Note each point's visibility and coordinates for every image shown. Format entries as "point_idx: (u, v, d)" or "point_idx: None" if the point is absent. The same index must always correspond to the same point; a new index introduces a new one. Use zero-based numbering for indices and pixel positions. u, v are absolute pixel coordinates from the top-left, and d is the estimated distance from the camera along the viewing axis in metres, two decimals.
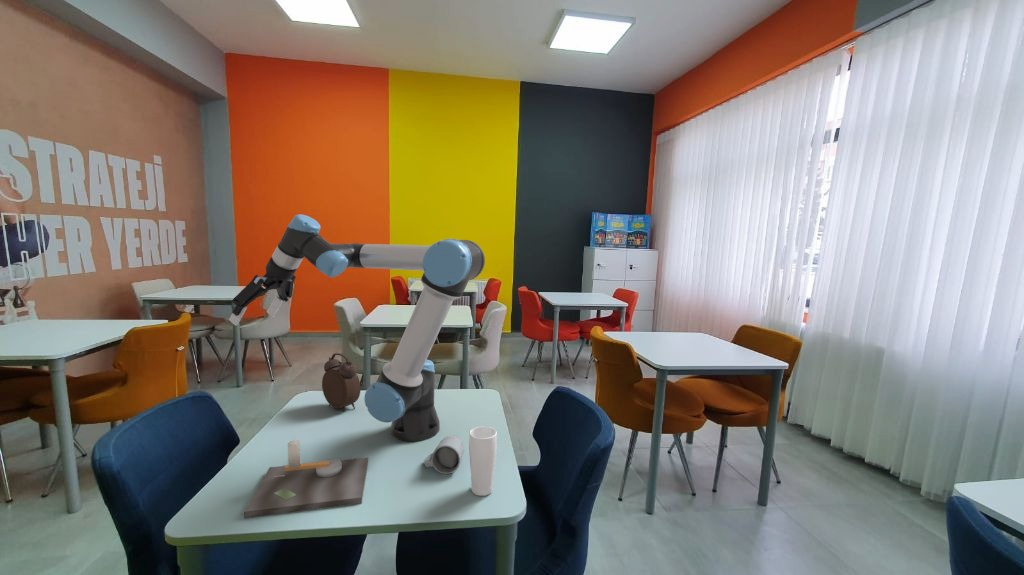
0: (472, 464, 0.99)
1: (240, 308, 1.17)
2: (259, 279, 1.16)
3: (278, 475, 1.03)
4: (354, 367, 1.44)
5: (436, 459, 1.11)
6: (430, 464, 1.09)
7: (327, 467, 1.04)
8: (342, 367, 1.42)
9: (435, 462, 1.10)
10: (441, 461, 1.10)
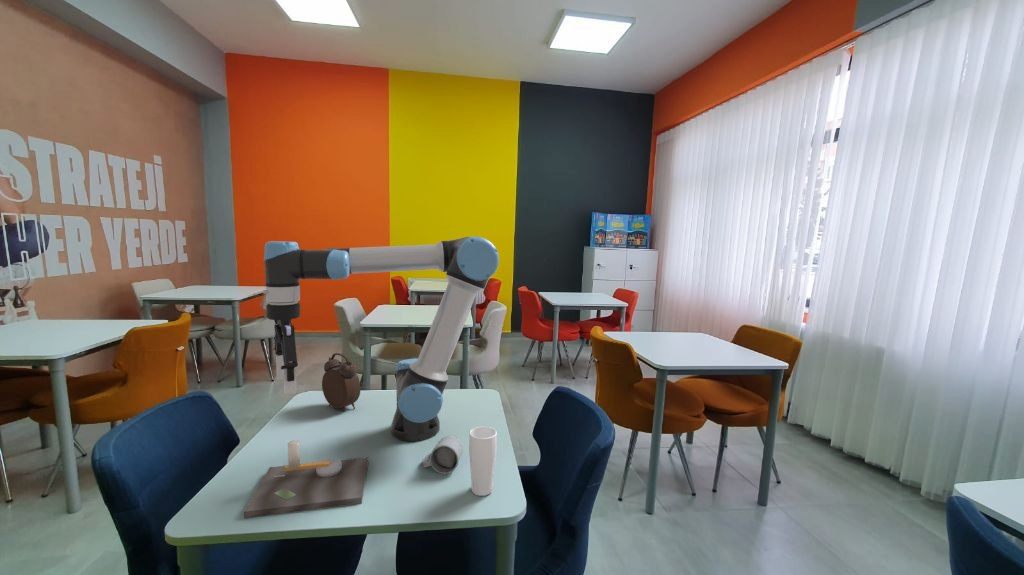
0: (472, 464, 0.99)
1: (293, 369, 1.01)
2: (290, 327, 1.00)
3: (278, 475, 1.03)
4: (354, 367, 1.44)
5: (434, 459, 1.11)
6: (428, 464, 1.10)
7: (327, 467, 1.04)
8: (342, 367, 1.42)
9: (434, 462, 1.10)
10: (439, 461, 1.10)
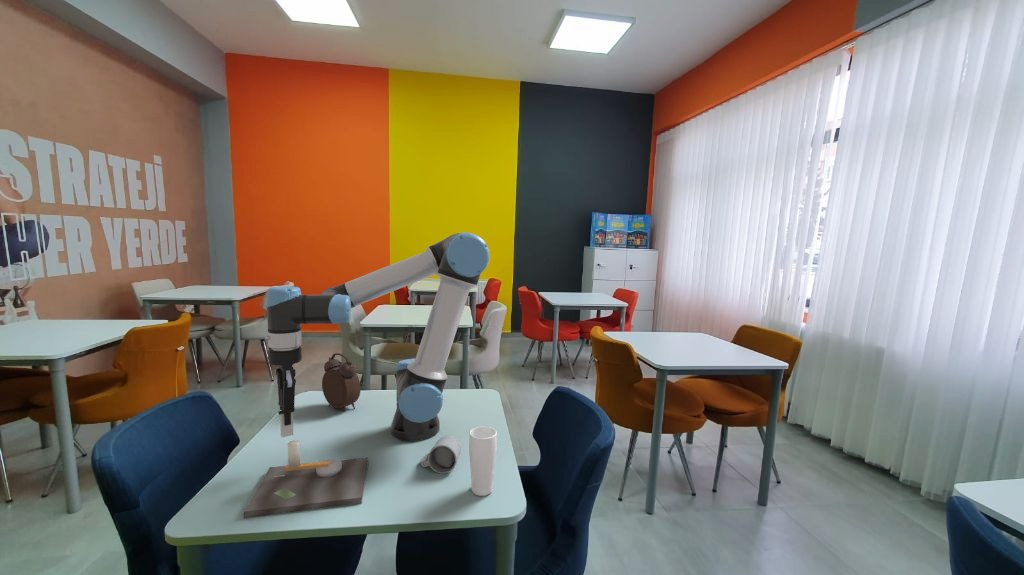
0: (472, 464, 0.99)
1: (290, 414, 1.07)
2: (292, 382, 1.02)
3: (278, 475, 1.03)
4: (354, 367, 1.44)
5: (433, 459, 1.11)
6: (426, 464, 1.10)
7: (327, 467, 1.04)
8: (342, 367, 1.42)
9: (432, 462, 1.10)
10: (437, 461, 1.10)
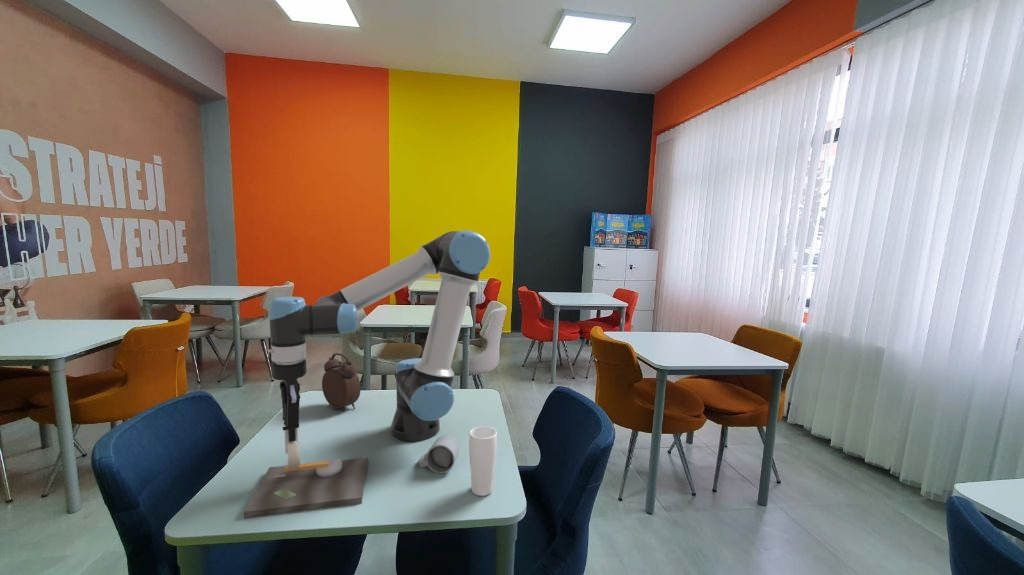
0: (472, 464, 0.99)
1: (295, 430, 1.03)
2: (296, 398, 0.98)
3: (278, 475, 1.03)
4: (354, 367, 1.44)
5: (431, 459, 1.11)
6: (425, 464, 1.10)
7: (327, 467, 1.04)
8: (342, 367, 1.42)
9: (430, 461, 1.10)
10: (436, 461, 1.10)
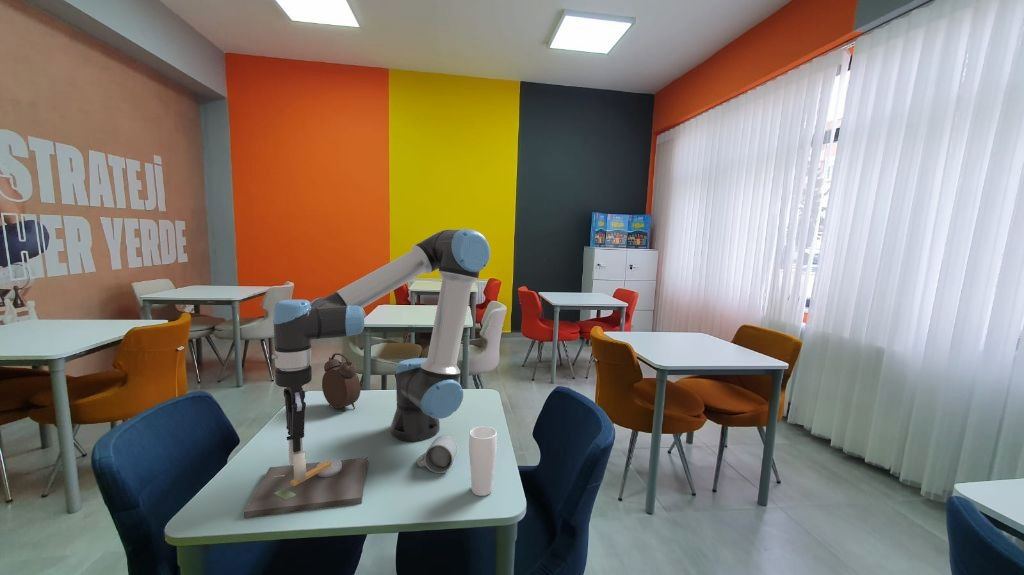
0: (472, 464, 0.99)
1: (299, 439, 0.98)
2: (302, 406, 0.93)
3: (278, 475, 1.03)
4: (354, 367, 1.44)
5: (429, 458, 1.11)
6: (423, 463, 1.10)
7: (332, 466, 1.05)
8: (342, 367, 1.42)
9: (428, 461, 1.10)
10: (434, 460, 1.10)
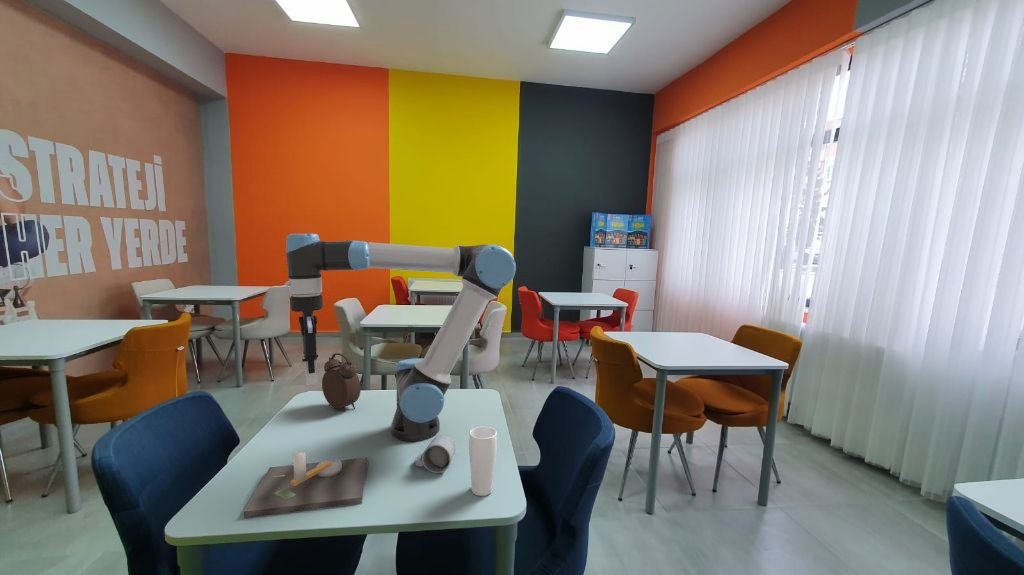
0: (472, 464, 0.99)
1: (314, 362, 1.07)
2: (312, 327, 1.01)
3: (278, 475, 1.03)
4: (354, 367, 1.44)
5: (427, 458, 1.11)
6: (421, 463, 1.10)
7: (332, 466, 1.05)
8: (342, 367, 1.42)
9: (426, 461, 1.10)
10: (432, 460, 1.10)
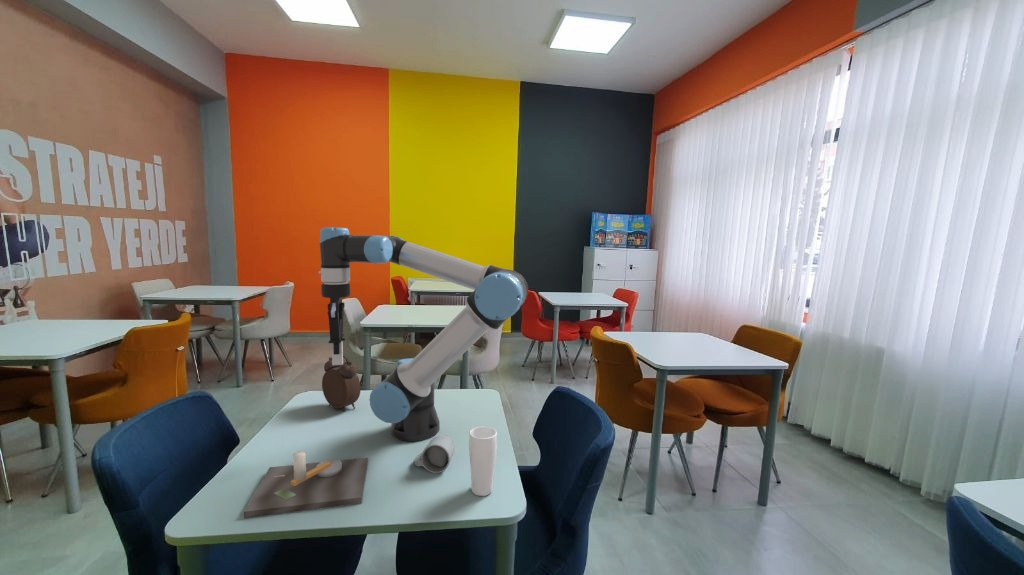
0: (472, 464, 0.99)
1: (339, 344, 1.17)
2: (334, 313, 1.12)
3: (278, 475, 1.03)
4: (354, 367, 1.44)
5: (426, 458, 1.11)
6: (420, 463, 1.10)
7: (332, 466, 1.05)
8: (342, 367, 1.42)
9: (425, 461, 1.10)
10: (431, 460, 1.10)
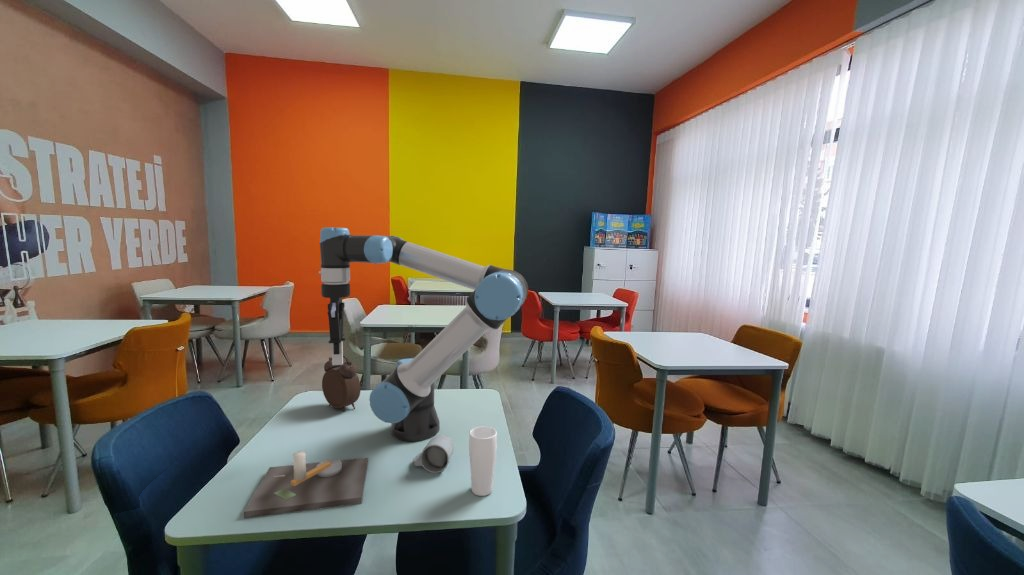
0: (472, 464, 0.99)
1: (339, 344, 1.17)
2: (334, 313, 1.12)
3: (278, 475, 1.03)
4: (354, 367, 1.44)
5: (425, 458, 1.11)
6: (419, 463, 1.10)
7: (332, 466, 1.05)
8: (342, 367, 1.42)
9: (424, 461, 1.10)
10: (430, 460, 1.10)
